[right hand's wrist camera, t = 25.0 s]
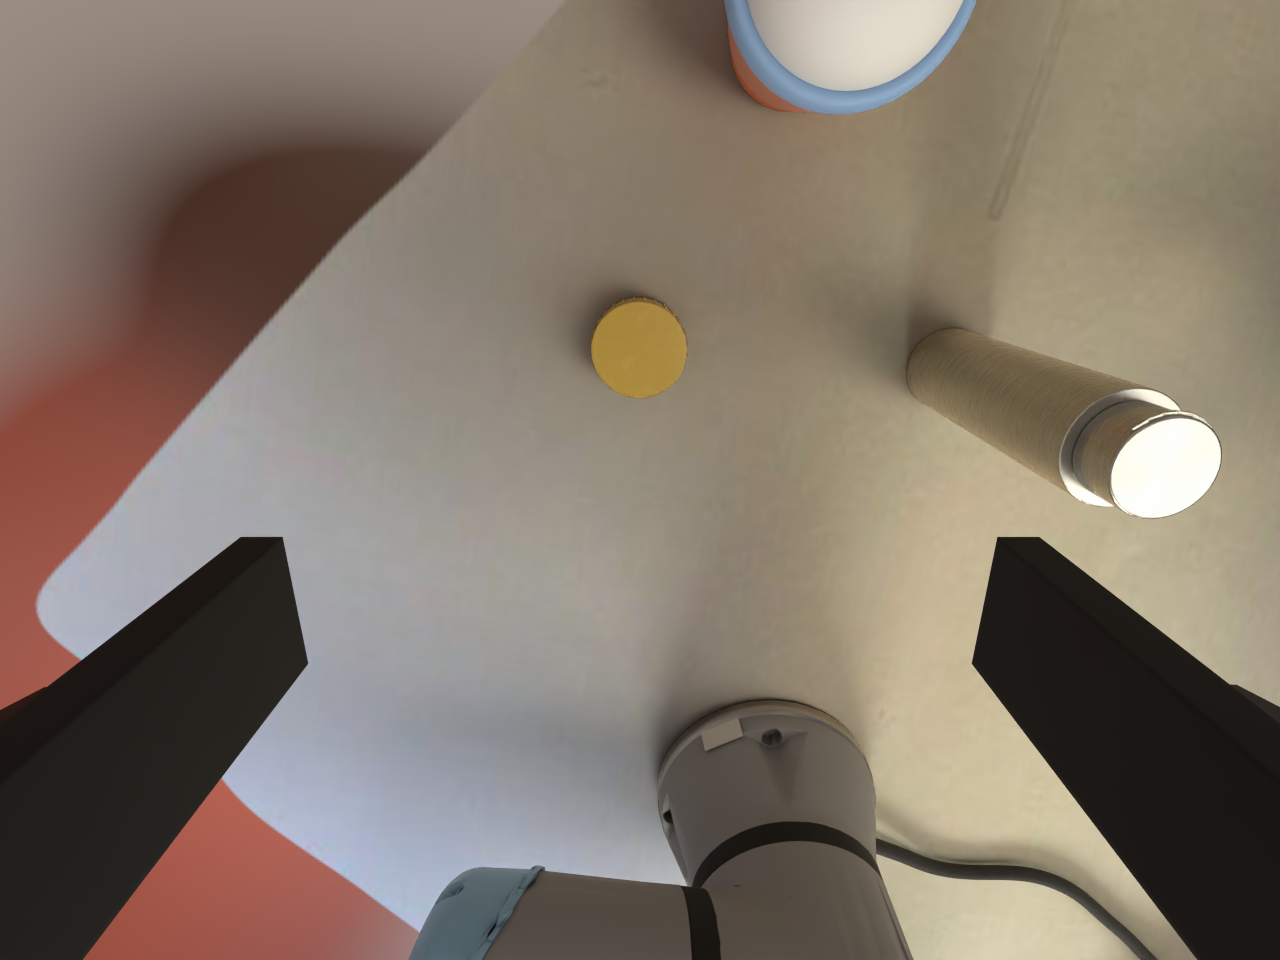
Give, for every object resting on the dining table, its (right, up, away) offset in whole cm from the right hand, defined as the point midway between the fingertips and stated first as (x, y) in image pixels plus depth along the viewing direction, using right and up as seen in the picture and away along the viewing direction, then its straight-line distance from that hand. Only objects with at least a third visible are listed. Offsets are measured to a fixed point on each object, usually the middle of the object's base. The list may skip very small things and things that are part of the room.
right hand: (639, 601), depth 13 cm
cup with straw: (+8, +24, +21) cm, 32 cm away
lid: (0, +9, +24) cm, 26 cm away
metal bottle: (+18, +9, +26) cm, 33 cm away
